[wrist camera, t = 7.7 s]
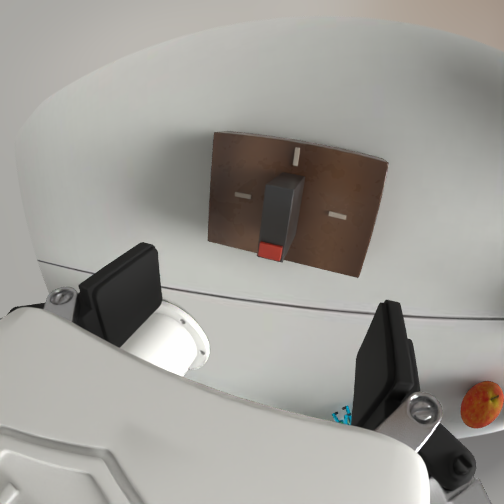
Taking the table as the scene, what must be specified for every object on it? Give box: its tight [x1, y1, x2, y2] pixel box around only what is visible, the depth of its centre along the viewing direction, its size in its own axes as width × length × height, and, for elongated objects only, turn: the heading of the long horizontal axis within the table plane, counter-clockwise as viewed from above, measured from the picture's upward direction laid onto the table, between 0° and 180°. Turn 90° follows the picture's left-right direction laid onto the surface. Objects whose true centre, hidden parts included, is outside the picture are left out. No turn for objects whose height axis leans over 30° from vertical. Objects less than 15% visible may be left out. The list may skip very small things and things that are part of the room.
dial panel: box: [208, 131, 389, 278], centre depth 23 cm, size 14×10×3 cm
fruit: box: [461, 381, 504, 428], centre depth 22 cm, size 7×7×8 cm
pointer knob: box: [257, 172, 305, 262], centre depth 20 cm, size 5×2×5 cm, turn 174°
